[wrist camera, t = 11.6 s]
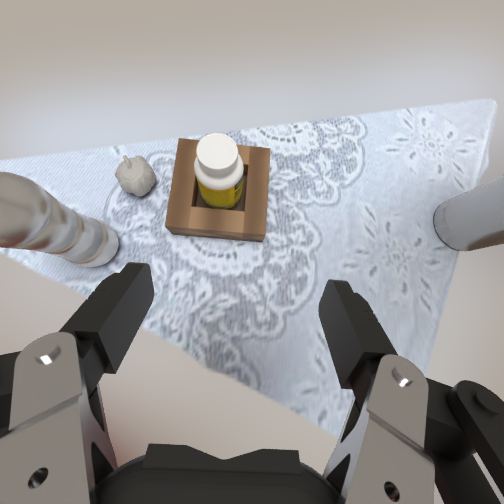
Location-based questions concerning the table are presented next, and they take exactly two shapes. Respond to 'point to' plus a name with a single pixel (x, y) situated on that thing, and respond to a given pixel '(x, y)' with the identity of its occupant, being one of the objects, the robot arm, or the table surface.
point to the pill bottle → (219, 171)
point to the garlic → (135, 175)
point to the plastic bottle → (50, 225)
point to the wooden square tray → (217, 220)
